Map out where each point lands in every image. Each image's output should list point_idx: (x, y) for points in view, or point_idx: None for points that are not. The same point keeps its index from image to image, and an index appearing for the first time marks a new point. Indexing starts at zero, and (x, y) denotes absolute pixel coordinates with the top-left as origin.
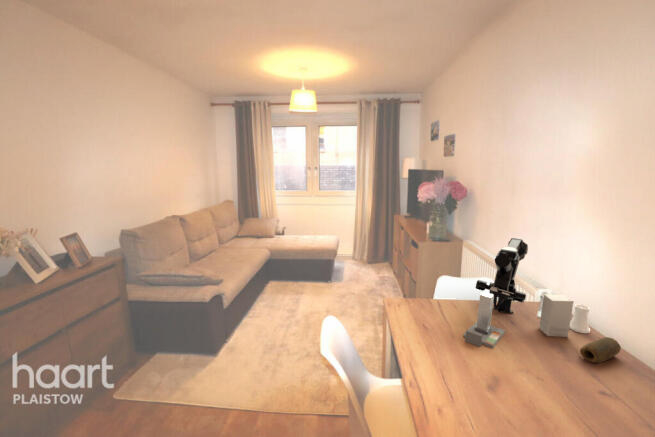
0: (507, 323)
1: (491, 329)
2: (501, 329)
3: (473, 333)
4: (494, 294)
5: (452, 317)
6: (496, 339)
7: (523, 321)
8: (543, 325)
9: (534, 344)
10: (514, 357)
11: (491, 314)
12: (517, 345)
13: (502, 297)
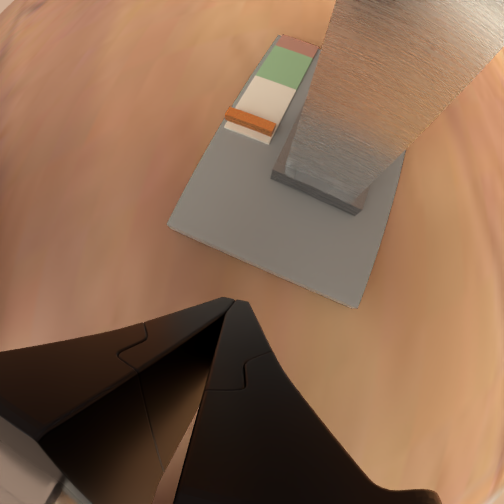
0: None
1: (271, 174)
2: (192, 226)
3: None
4: (287, 435)
5: (476, 320)
6: (255, 78)
7: None
8: None
9: (55, 153)
10: (198, 18)
11: (308, 94)
12: (144, 102)
13: (69, 359)
